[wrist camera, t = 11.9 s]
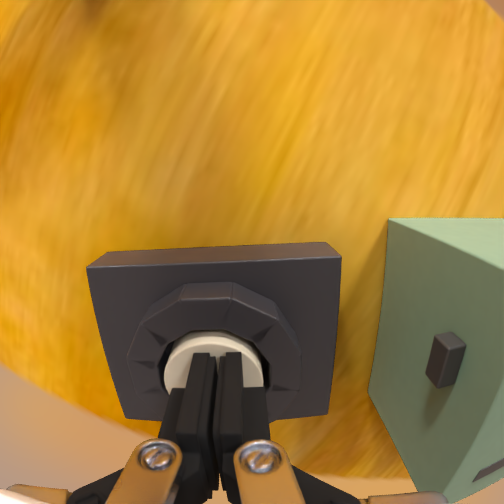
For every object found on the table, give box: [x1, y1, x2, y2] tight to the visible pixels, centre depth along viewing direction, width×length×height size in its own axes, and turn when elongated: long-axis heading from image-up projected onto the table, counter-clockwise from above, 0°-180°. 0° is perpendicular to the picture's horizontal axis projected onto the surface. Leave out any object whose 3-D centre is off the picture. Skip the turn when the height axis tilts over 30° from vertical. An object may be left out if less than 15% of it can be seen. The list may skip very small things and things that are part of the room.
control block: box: [86, 242, 342, 423], centre depth 13 cm, size 10×8×4 cm
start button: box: [164, 329, 263, 395], centre depth 12 cm, size 4×4×2 cm
